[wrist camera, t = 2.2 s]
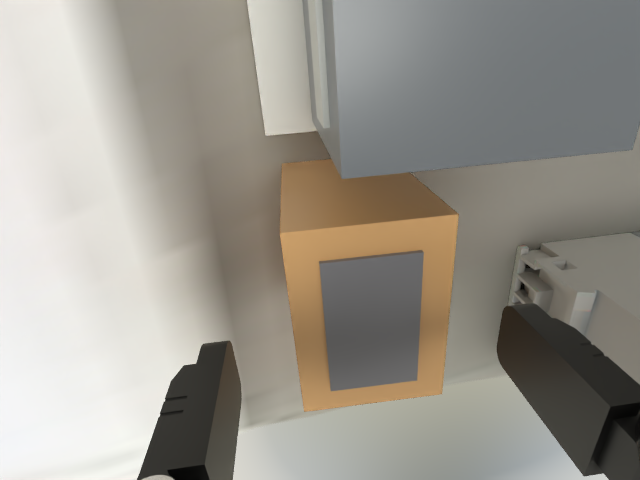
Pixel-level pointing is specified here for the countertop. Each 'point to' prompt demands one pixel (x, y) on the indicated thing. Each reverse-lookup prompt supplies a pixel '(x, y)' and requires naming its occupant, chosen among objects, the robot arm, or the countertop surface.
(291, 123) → the panel
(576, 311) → the circuit breaker
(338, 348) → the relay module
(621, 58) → the block
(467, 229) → the countertop surface
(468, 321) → the countertop surface
